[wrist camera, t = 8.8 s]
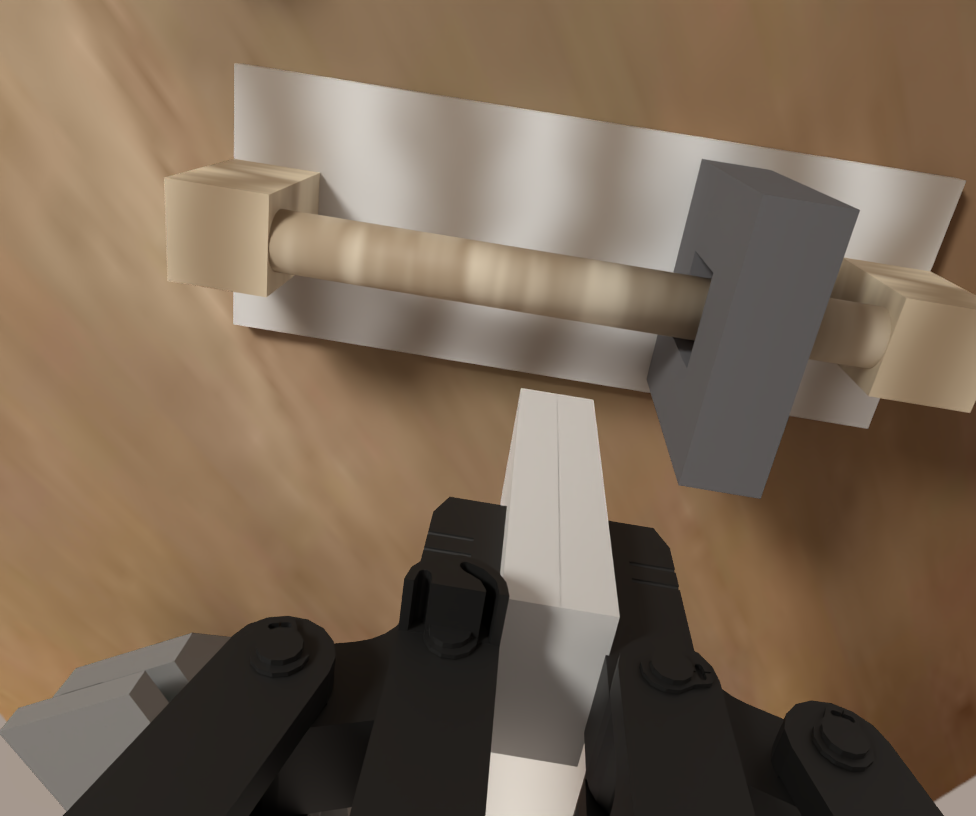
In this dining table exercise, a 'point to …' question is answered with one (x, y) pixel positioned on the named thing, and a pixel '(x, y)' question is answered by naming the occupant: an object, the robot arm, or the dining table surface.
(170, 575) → the dining table surface
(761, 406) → the collar
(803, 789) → the robot arm
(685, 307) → the rail
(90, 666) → the grey grooved block
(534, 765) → the cylindrical container
